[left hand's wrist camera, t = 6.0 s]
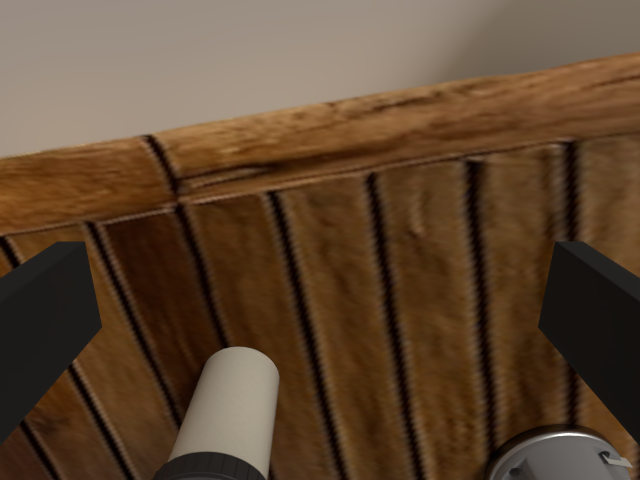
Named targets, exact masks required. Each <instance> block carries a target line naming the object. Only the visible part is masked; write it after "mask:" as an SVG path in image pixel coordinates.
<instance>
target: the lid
mask: <svg viewBox="0 0 640 480" xmlns="http://www.w3.org/2000/svg"><path fill="white" fill-rule="evenodd" d="M152 480H266V479H265V477H264V476H263V475H262V474H261V473H260V471H259V470H257V469H256V468H255V467H254V466H252V465H251V464H249V463H248V462H246V461H244V460H242V459H240V458H238V457H235V456H232V455H229V454H225V453H219V452H209V451H207V452H194V453H189V454H184V455H182V456H179V457H176V458H174V459H172V460H170V461H169V462H167V463H166V464H164V466H162V467H161V468H160V469H159V470H158V471H157V472H156V474H155V476H154V478H153V479H152Z"/></svg>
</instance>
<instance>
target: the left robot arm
mask: <svg viewBox="0 0 640 480" xmlns="http://www.w3.org/2000/svg"><path fill="white" fill-rule="evenodd" d="M101 328H102V324H101V319H100V314H99V309H98V305H97V300H96V295H95V290H94V285H93V280H92V275H91V270H90V265H89V260H88V255H87V250H86V246H85V242H56V243H54V244H53V245H51V246H50V247H48V248H46V249H45V250H43V251H42V252H40V253H39V254H37V255H36V256H34V257H32V258H31V259H29V260H28V261H26V262H25V263H23V264H22V265H20V266H18V267H17V268H15V269H14V270H12V271H11V272H9V273H8V274H6V275H4V276H3V277H1V278H0V446H1V444H2V443H3V442H4V441H5V440H6V439H7V437H8V436H9V435H10V434H11V433H12V432H13V430H14V429H15V428H16V427H17V426H18V425H19V423H20V422H21V421H22V420H23V419H24V418H25V416H26V415H27V414H28V413H29V412H30V411H31V409H32V408H33V407H34V406H35V405H36V404H37V402H38V401H39V400H40V399H41V398H42V397H43V395H44V394H45V393H46V392H47V391H48V390H49V388H50V387H51V386H52V385H53V384H54V383H55V381H56V380H57V379H58V378H59V377H60V376H61V374H62V373H63V372H64V371H65V370H66V369H67V367H68V366H69V365H70V364H71V363H72V362H73V360H74V359H75V358H76V357H77V356H78V355H79V353H80V352H81V351H82V350H83V349H84V348H85V346H86V345H87V344H88V343H89V342H90V341H91V339H92V338H93V337H94V336H95V335H96V334H97V332H98V331H99V330H100V329H101ZM538 328H539V329H540V330H541V331H542V332H543V334H544V335H545V336H546V337H547V338H548V339H549V341H550V342H551V343H552V344H553V345H554V346H555V348H556V349H557V350H558V351H559V352H560V353H561V355H562V356H563V357H564V358H565V359H566V360H567V362H568V363H569V364H570V365H571V366H572V367H573V369H574V370H575V371H576V372H577V373H578V374H579V376H580V377H581V378H582V379H583V380H584V381H585V383H586V384H587V385H588V386H589V387H590V388H591V390H592V391H593V392H594V393H595V394H596V395H597V397H598V398H599V399H600V400H601V401H602V402H603V404H604V405H605V406H606V407H607V408H608V409H609V411H610V412H611V413H612V414H613V415H614V416H615V418H616V419H617V420H618V421H619V422H620V423H621V425H622V426H623V427H624V428H625V429H626V430H627V432H628V433H629V434H630V435H631V436H632V437H633V439H634V440H635V441H636V442H637V443H638V444H639V446H640V278H639V277H637V276H636V275H634V274H632V273H631V272H629V271H628V270H626V269H625V268H623V267H622V266H620V265H618V264H617V263H615V262H614V261H612V260H611V259H609V258H608V257H606V256H604V255H603V254H601V253H600V252H598V251H597V250H595V249H594V248H592V247H590V246H589V245H587V244H586V243H584V242H555V246H554V250H553V255H552V260H551V265H550V270H549V275H548V280H547V285H546V290H545V295H544V300H543V305H542V309H541V314H540V319H539V324H538ZM626 466H627V467H632V465H631V464H630V463H629V462H628V460H627V459H626V458H621V456H620V455H619V453H618V452H617V451H616V449H615V448H614V447H613V446H612V444H611V443H610V442H609V441H608V440H607V439H606V438H605V437H604V436H603V435H601V434H600V433H598V432H596V431H594V430H592V429H589V428H586V427H583V426H578V425H569V424H558V425H549V426H544V427H540V428H536V429H533V430H530V431H528V432H525V433H523V434H521V435H519V436H517V437H516V438H514V439H512V440H511V441H509V442H508V443H507V444H505V445H504V446H503V447H502V448H501V449H500V450H499V451H498V452H497V453H496V454H495V455H494V457H493V458H492V460H491V461H490V463H489V465H488V467H487V470H486V473H485V479H484V480H631V479H630V476H629V473H628V470H627V468H626Z"/></svg>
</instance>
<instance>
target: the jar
mask: <svg viewBox="0 0 640 480" xmlns="http://www.w3.org/2000/svg"><path fill="white" fill-rule="evenodd" d="M279 381H280V379H279V373H278V370H277V368H276V366H275V365H274V363H273V362H272V361H271V360H270V359H269V358H268V357H267V356H266V355H264V354H263V353H261V352H259V351H257V350H254V349H251V348H247V347H230V348H226V349H223V350H220V351H218V352H216V353H215V354H214V355H212V356H211V357H210V358H209V359H208V360H207V362H206V363H205V365H204V367H203V370H202V372H201V375H200V378H199V380H198V383H197V385H196V388H195V391H194V393H193V396H192V399H191V401H190V404H189V406H188V409H187V412H186V414H185V417H184V420H183V422H182V425H181V427H180V430H179V433H178V435H177V438H176V441H175V443H174V446H173V448H172V451H171V454H170V456H169V459H168V462H169V461H170V460H172V459H174V458H176V457H179V456H182V455H184V454H189V453H194V452H207V451H209V452H219V453H225V454H229V455H232V456H235V457H238V458H240V459H242V460H244V461H246V462H248V463H249V464H251V465H252V466H254V467H255V468H256V469H257V470H259V471H260V473H261V474H262V475H263V476H264V477H265V479H266V480H268V472H269V464H270V456H271V448H272V440H273V432H274V423H275V415H276V407H277V399H278V391H279Z"/></svg>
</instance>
